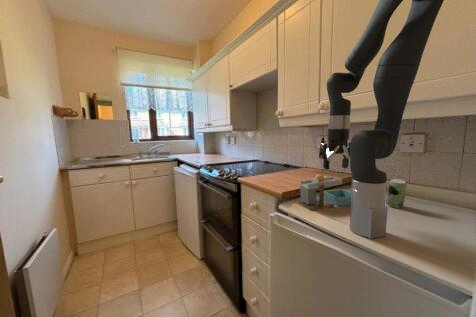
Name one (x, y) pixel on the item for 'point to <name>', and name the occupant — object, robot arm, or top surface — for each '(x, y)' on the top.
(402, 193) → the beverage can
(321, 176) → the ball
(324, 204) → the stand
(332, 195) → the teal square tray
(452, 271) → the top surface
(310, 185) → the chute
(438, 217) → the top surface
